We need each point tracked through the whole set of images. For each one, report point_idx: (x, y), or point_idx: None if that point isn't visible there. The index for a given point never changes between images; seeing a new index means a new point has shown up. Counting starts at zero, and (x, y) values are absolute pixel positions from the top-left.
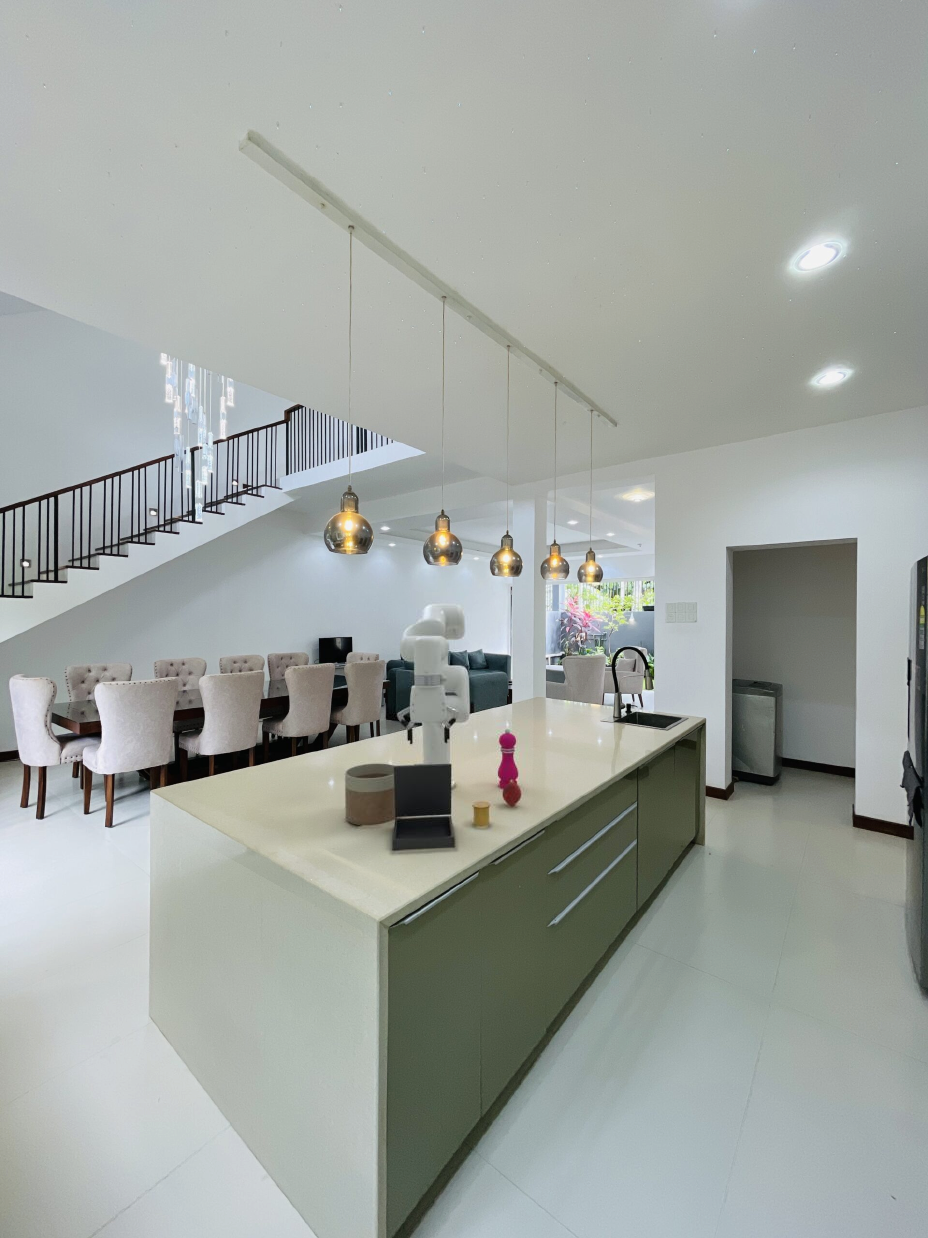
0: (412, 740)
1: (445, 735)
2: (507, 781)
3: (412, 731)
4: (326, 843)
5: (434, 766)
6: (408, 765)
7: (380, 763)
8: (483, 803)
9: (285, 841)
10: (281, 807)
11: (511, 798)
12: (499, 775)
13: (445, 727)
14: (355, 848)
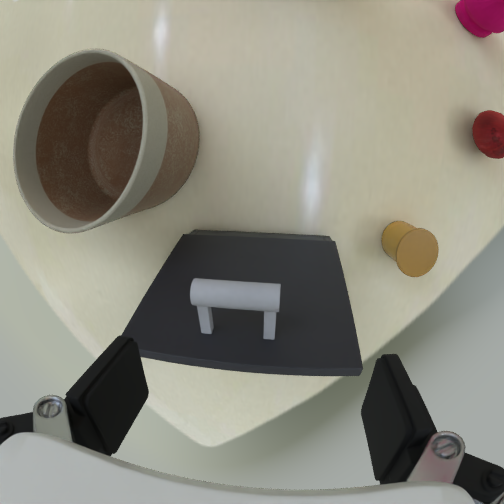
0: (140, 409)
1: (373, 447)
2: (480, 26)
3: (100, 386)
4: (84, 270)
5: (285, 372)
6: (170, 358)
7: (88, 50)
8: (425, 248)
9: (35, 250)
10: (7, 103)
11: (488, 156)
12: (470, 9)
13: (392, 482)
14: (132, 301)
